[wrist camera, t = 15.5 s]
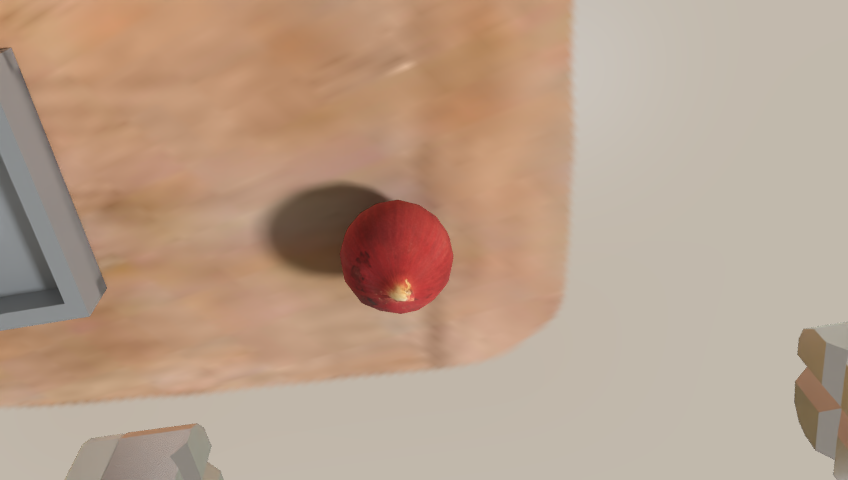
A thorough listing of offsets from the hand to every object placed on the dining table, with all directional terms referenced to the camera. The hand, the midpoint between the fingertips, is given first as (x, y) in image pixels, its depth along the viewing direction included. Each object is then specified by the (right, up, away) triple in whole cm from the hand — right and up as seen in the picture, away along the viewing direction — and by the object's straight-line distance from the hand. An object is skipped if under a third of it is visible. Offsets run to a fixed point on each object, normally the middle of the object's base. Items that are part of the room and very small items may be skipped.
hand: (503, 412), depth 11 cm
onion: (-3, +3, +33) cm, 34 cm away
